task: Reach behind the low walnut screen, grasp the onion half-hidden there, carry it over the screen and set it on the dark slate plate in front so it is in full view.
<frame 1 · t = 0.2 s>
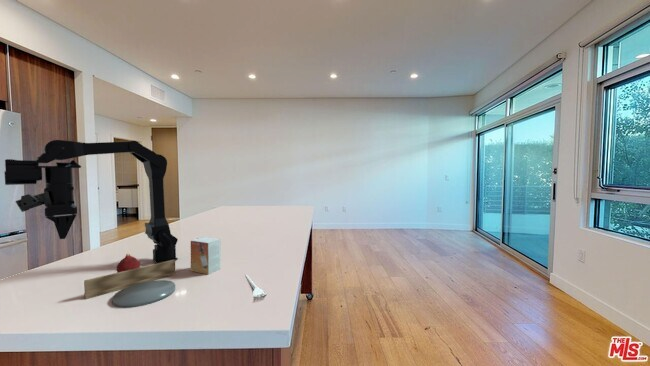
hand: (62, 236, 78), 14 cm above the kitchen island, tool pointing down, fingers open, 9 cm apart
small box: (206, 270, 90), on the kitchen island
fork: (253, 288, 77), on the kitchen island
slate plate: (145, 294, 72), on the kitchen island
walnut screen: (134, 284, 78), on the kitchen island
onion: (129, 279, 82), on the kitchen island
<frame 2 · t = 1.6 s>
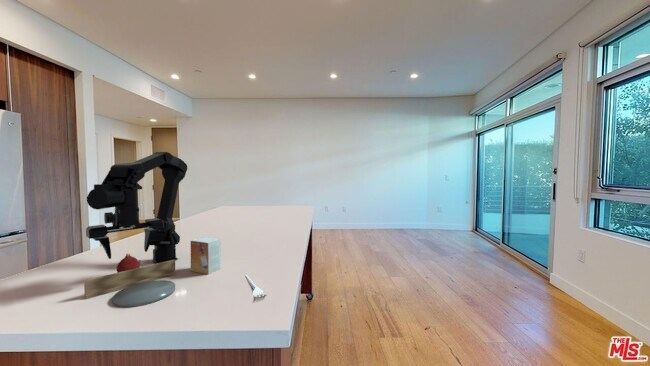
hand: (128, 254, 82), 8 cm above the kitchen island, tool pointing down, fingers open, 9 cm apart
nothing on the kitchen island moved.
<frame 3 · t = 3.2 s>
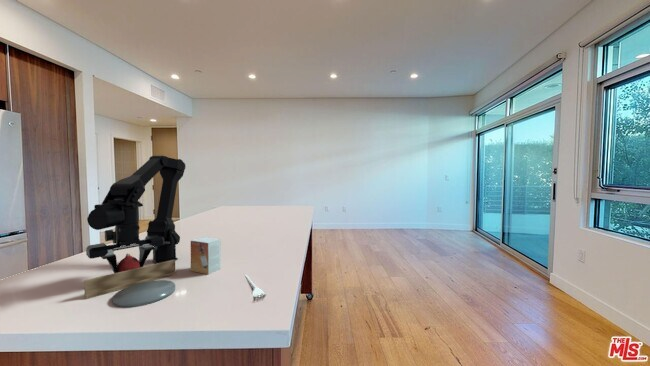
hand: (128, 272, 82), 2 cm above the kitchen island, tool pointing down, fingers closed on onion, 6 cm apart
onion: (128, 279, 82), on the kitchen island, touching gripper
everything else where it was.
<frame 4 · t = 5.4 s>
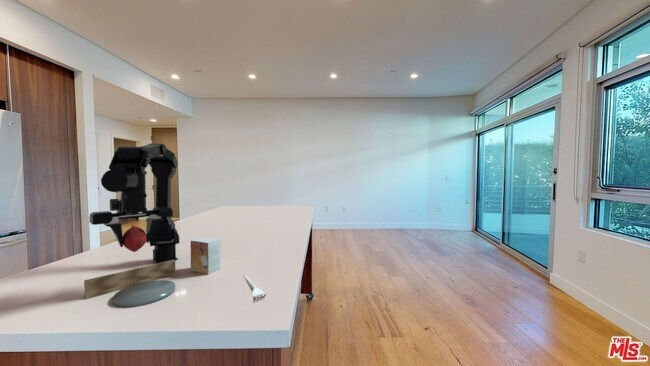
hand: (134, 244, 76), 12 cm above the kitchen island, tool pointing down, fingers closed on onion, 6 cm apart
onion: (134, 252, 76), point 10 cm above the kitchen island, touching gripper
everything else where it was.
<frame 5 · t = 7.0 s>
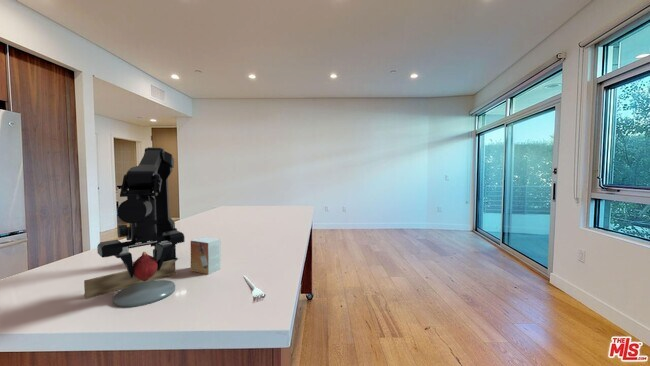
hand: (145, 273, 72), 6 cm above the kitchen island, tool pointing down, fingers closed on onion, 6 cm apart
onion: (145, 281, 72), point 3 cm above the kitchen island, touching gripper
everything else where it was.
when the fingers open (4 cm above the kitchen island, at t = 8.1 s): onion drops 1 cm, resting on slate plate.
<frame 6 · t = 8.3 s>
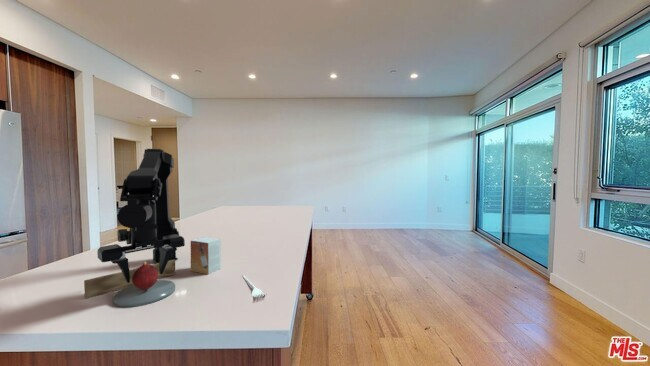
hand: (145, 277, 72), 4 cm above the kitchen island, tool pointing down, fingers open, 7 cm apart
onion: (145, 290, 72), point 1 cm above the kitchen island, touching slate plate
everything else where it was.
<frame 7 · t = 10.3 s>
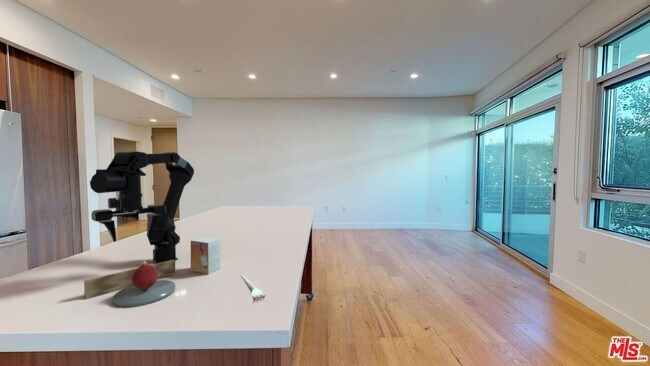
hand: (132, 238, 85), 12 cm above the kitchen island, tool pointing down, fingers open, 9 cm apart
nothing on the kitchen island moved.
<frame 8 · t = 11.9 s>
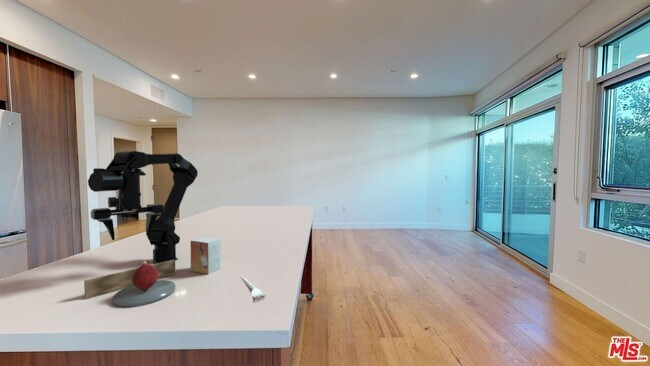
hand: (130, 237, 86), 12 cm above the kitchen island, tool pointing down, fingers open, 9 cm apart
nothing on the kitchen island moved.
at the end: onion inside the target area on the slate plate (0.0 cm from its centre), point 0.8 cm above the slate plate's base; the gripper is holding nothing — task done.
